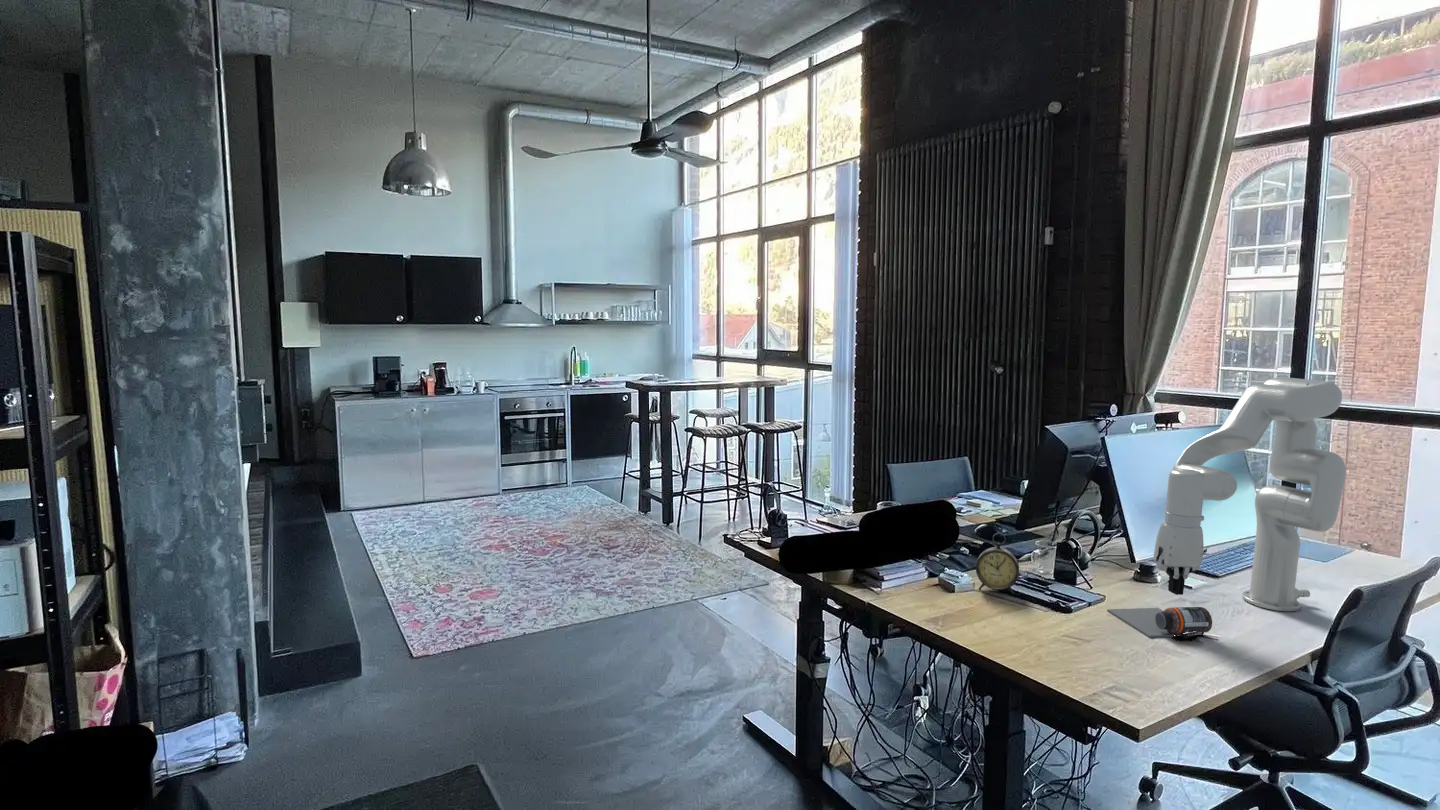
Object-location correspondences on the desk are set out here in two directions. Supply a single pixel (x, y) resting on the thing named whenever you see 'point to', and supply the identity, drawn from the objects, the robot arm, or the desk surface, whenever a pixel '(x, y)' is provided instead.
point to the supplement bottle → (1184, 619)
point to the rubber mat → (1142, 621)
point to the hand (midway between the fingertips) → (1175, 592)
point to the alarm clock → (997, 568)
